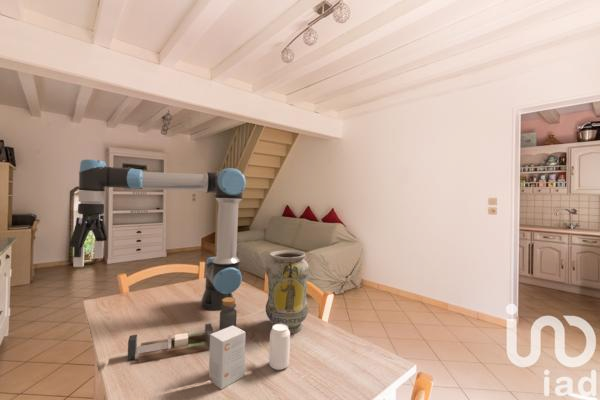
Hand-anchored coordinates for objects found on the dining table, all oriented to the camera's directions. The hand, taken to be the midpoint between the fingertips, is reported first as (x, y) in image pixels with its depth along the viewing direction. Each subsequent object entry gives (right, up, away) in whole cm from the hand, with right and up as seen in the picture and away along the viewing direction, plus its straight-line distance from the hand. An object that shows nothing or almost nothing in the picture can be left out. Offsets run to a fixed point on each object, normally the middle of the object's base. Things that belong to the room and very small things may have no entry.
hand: (89, 262), depth 100 cm
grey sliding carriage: (+28, -27, -12) cm, 41 cm away
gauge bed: (+35, -28, -8) cm, 46 cm away
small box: (+55, -29, -20) cm, 65 cm away
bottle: (+49, -29, +1) cm, 57 cm away
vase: (+70, -30, +13) cm, 77 cm away
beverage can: (+69, -29, -13) cm, 76 cm away
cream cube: (+36, -27, -7) cm, 46 cm away
